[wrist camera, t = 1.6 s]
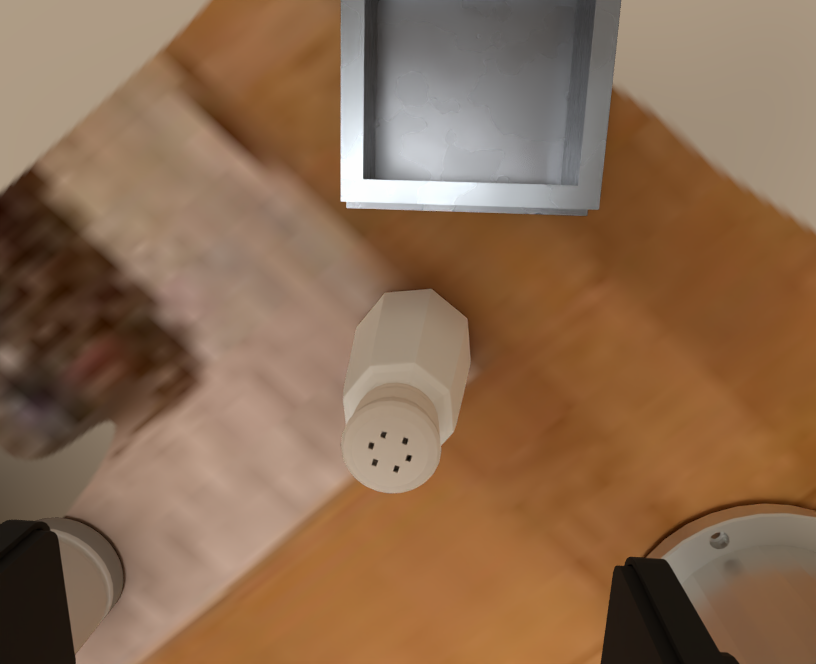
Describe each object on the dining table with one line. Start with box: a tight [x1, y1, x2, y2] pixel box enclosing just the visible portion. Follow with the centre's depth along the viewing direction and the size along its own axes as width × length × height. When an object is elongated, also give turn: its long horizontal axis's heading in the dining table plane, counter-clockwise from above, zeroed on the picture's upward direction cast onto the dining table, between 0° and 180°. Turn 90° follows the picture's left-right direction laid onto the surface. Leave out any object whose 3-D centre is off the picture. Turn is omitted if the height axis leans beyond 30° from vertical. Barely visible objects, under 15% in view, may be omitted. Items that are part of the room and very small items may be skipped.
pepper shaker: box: [341, 289, 471, 493], centre depth 22 cm, size 5×5×11 cm
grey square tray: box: [341, 0, 621, 216], centre depth 22 cm, size 10×10×4 cm
